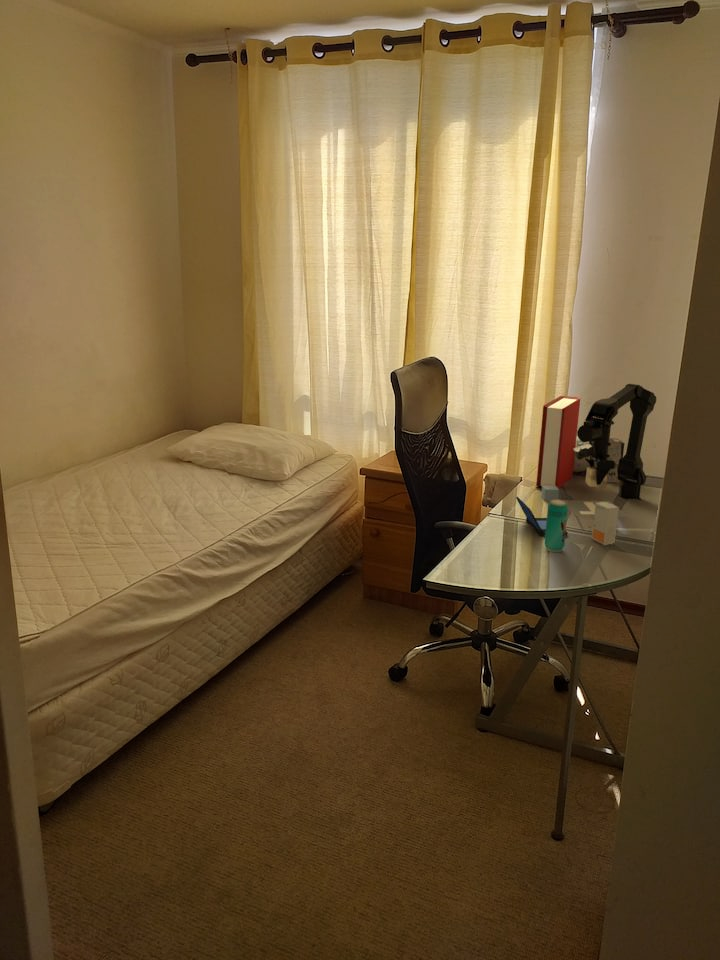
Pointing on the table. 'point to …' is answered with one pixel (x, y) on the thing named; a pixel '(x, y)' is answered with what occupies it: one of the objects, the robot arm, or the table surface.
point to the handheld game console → (534, 519)
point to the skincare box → (605, 523)
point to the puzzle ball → (581, 464)
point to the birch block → (594, 478)
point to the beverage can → (556, 525)
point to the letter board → (586, 507)
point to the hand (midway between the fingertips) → (595, 482)
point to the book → (558, 441)
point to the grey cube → (549, 493)
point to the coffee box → (615, 458)
